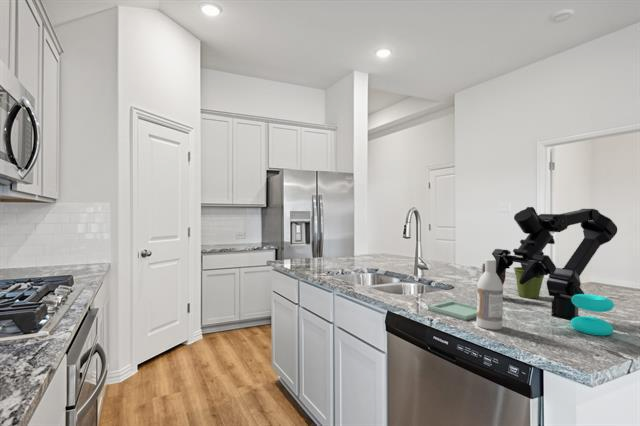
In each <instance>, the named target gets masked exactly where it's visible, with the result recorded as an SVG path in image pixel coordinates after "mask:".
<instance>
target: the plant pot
mask: <svg viewBox="0 0 640 426" xmlns="http://www.w3.org/2000/svg"><path fill="white" fill-rule="evenodd" d="M512 269H513V270H514V275H515V280H516V287H517V294H518V296H521V297H522V298H527V299H539V297H540V293H541V288H542V283H543V280H544V278H545V275H542V276H541V277H540V278H536V277H534V278H532V279H530V280H529V281H527V282H526V283H524V284H522V285H521V284H520V283H519V281H520V278H521V276H522V274H523V272H524V270H522V266H515V267H513V268H512Z"/></svg>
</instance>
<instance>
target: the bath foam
mask: <svg viewBox="0 0 640 426" xmlns="http://www.w3.org/2000/svg"><path fill="white" fill-rule="evenodd" d="M484 261H485V262H484V264H485V272H484V273H483V275H482V274H481V276H480V278H479V279H478V282H477V286H476V287H477V288H476V306H477V318H476V325H477V326H478V327H480V328H482V329H485V330H493V331H496V330H498V331H499V330H500V329H502V328H503V306H504V303H503V302H504V301H503V300H504V284H503V285H502V282H501V280H500V278H499V276H498V275H497V273H496V260H495V259H490V258H485V259H484Z"/></svg>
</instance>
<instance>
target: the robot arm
mask: <svg viewBox="0 0 640 426" xmlns="http://www.w3.org/2000/svg"><path fill="white" fill-rule="evenodd" d="M513 219H514V221H515V223H516V224H517V225H518V227H519V228H520V229H521V231H522V232H523V234H525V235H526V234H527V236H526V238H525V239H522V238H521V240H519V242H520V246H519V247H518V248H514V249H513V250H512V252H513V254H509V253H508V251H507V250H508V249H501V248H495V249H494V250H493V251H492V252H491V255H492V256H493V258H494V260H496V273H497V275H498V276H500V275H501V273H502V272H503V271H504V270H505V269H506V270H507V269H510V267H512V265H513V264H514V263H520V267H522V270H524V272H523V274H522V276H521V278H520V281H519V283H520V284H521V285H522V284H524V283H526V282H527V281H529V280H530V279H532V278H534V277H536V278H540V277H541V276H542V275H544V276H548V279H547V280H546V287H547V292H548V296H550V297H553V300H551V314H550V316H551V317H552V316H553V317H557V318H560V319H564V320H565V319H566V320H570V321H571V320H572V319H573V318H575V317H578V316H580V315H579V308H578V307H576V306H575V305H574V304H573V303H572V301H571V298H572V296H574V295H577V294H585V293H584V290H583V289H582V288H581V284H582V283H581V278H580V276H581V275H582V273H583V272H584V270H585V269H586V267H587V266H588V264H589V262H590V261H591V260H592V258H593V257H594V255H595V254H596V253H597V251H598V249H599V248H600V246H603V245H604V244H607V243H609V242H610V241H612V239H614V237H615V236H616V234H617V233H618V227H617V225H616V223H615V222H613V220H612V219H611V218H610V217H608V216H606V215H604V214H602V213H600V211H599V210H598V209H595V208H581V209H579V210H574V211H569V212H563V213H559V214H558V213H557V214H556V213H540V214H538V212H537V211H536V209H535V208H534V207H533V206H527V207H526V208H525V209H522V210H520V211H519V212H517V213H515V214H514V217H513ZM578 224H580V228H582V229H583V230H582V232H583V237H584V238H583V239H582V241H581V242H580V244H578V247H577V248H576V249H575V250H574V252H573V254H572V255H571V256H570V257H569V259H568V261H567V262H566V263H565V265H563V266H564V267H562V268H561V267H557V266H556V264H555V263H554V262H553V260H552V258H551V257H550V256H549V254H548V255H546V254H545V253H544V252H543V250H544V249H545V248H546V246H548V244H550V245H555V238H554V235H552V234H551V232H552V233H561V232H563V231H565V230H567V229H568V227H569V226H573V225H578Z"/></svg>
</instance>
